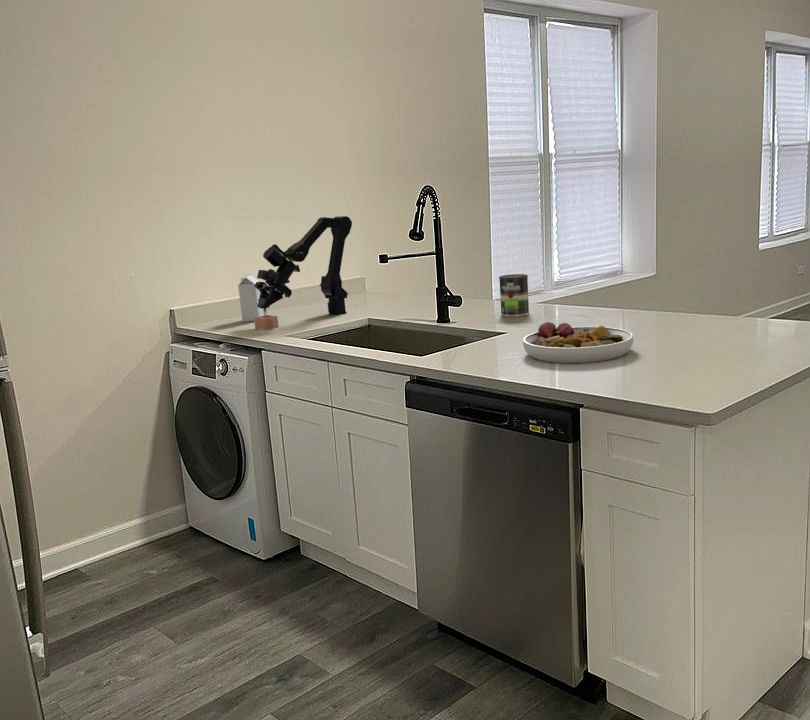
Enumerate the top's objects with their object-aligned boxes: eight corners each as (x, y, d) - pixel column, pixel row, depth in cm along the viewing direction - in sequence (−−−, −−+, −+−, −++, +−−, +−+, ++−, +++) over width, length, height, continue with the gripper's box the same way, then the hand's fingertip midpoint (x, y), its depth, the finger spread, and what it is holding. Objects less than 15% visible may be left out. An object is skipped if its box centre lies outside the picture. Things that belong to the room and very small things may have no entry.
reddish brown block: (269, 325, 326) (268, 314, 325) (282, 327, 319) (281, 316, 318) (255, 328, 322) (253, 317, 321) (267, 330, 315) (266, 319, 314)
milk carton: (264, 318, 346) (258, 272, 342) (259, 321, 339) (254, 274, 335) (247, 319, 347) (241, 273, 343) (242, 322, 340) (236, 275, 336)
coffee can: (525, 316, 299) (523, 277, 296) (497, 317, 303) (495, 278, 300) (532, 311, 308) (530, 273, 305) (505, 312, 312) (503, 274, 309)
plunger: (268, 322, 324) (265, 297, 322) (273, 323, 321) (270, 297, 319) (259, 324, 321) (256, 298, 319) (264, 324, 318) (261, 299, 316)
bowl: (657, 350, 231) (656, 322, 229) (580, 372, 214) (579, 341, 212) (575, 339, 255) (574, 313, 253) (501, 357, 238) (500, 330, 237)
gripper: (255, 260, 326) (233, 293, 321) (281, 261, 312) (259, 295, 307) (275, 278, 332) (254, 310, 328) (301, 280, 318) (279, 313, 314)
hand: (261, 307), depth 319 cm, fingers closed on plunger, 4 cm apart
